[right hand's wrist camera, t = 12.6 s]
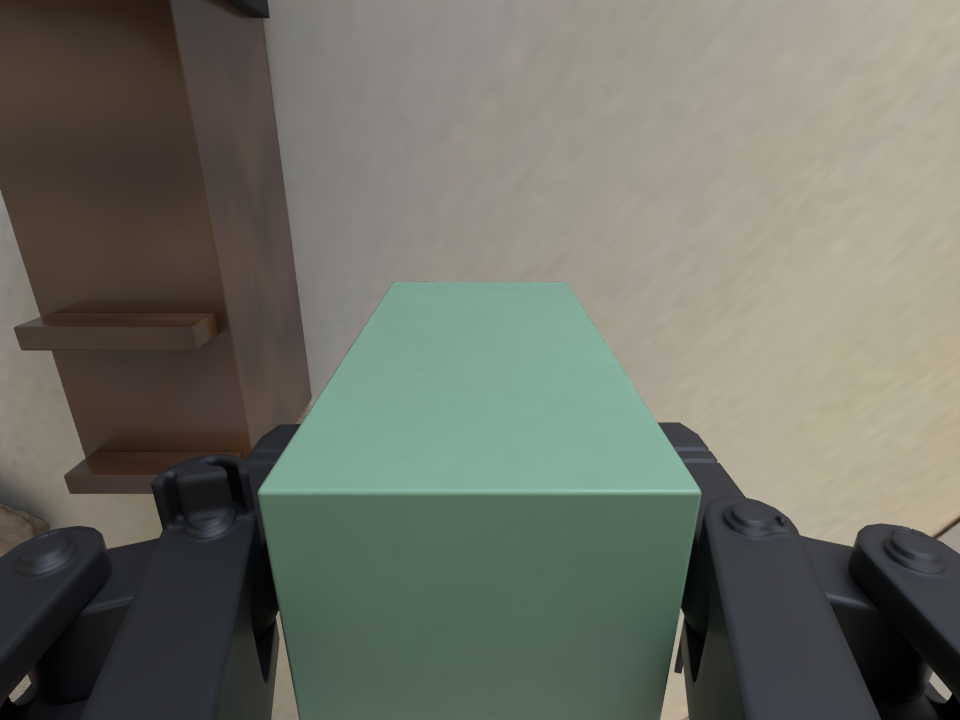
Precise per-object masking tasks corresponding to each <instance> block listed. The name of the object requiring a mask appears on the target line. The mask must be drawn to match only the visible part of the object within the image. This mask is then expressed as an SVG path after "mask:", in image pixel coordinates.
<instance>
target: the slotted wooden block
mask: <svg viewBox="0 0 960 720" xmlns="http://www.w3.org/2000/svg"><path fill="white" fill-rule="evenodd" d="M0 189H1V192H2V196H3V199H4V202H5V205H6V208H7V211H8V214H9V218H10V221H11V224H12V227H13V230H14V233H15V237H16V240H17V243H18V246H19V249H20V252H21V255H22V259H23V262H24V265H25V268H26V271H27V274H28V277H29V281H30V284H31V287H32V290H33V293H34V296H35V300H36V303H37V306H38V309H39V312H40V315H41V317H39V318H37V319H34V320H32V321H29V322H26V323H24V324H21V325H19V326H16V327H14V330H15V333H16V336H17V339H18V342H19V345H20V348H21V350H52V353H53V356H54V359H55V363H56V366H57V369H58V372H59V375H60V378H61V382H62V385H63V388H64V391H65V394H66V397H67V400H68V404H69V407H70V410H71V413H72V416H73V419H74V422H75V426H76V429H77V432H78V435H79V438H80V441H81V445H82V448H83V451H84V454H85V457H86V458H85V459H84V460H83V461H82V462H80V463H79V464H78V465H77V466H75V467H74V468H73V469H72V470H70V471H69V472H68V473H66V474H65V475H64V478H65V481H66V484H67V487H68V489H69V492H70V493H71V494H153V491H152V487H151V483H152V482H153V480H154V479H155V478H156V477H157V476H158V475H159V474H160V473H161V472H163V471H165V470H166V469H168V468H169V467H171V466H173V465H175V464H177V463H180V462H182V461H185V460H187V459H190V458H194V457H199V456H203V455H208V454H229V455H233V456H238V457H240V458H241V459H242V460H245V458H246V457H247V456H248V454H249V453H251V452H252V449H253V448H254V446H255V445H256V444H257V442H258V441H259V440H260V438H261V437H262V436H263V435H265V434H266V433H268V432H269V431H271V430H273V429H274V428H276V427H277V426H279V425H280V424H295V422H296V421H297V419H298V418H299V416H300V415H301V413H302V412H303V410H304V409H305V407H306V406H307V404H308V403H309V401H310V400H311V390H310V382H309V374H308V367H307V359H306V351H305V344H304V336H303V328H302V321H301V313H300V305H299V297H298V290H297V282H296V274H295V267H294V259H293V251H292V243H291V236H290V228H289V220H288V213H287V205H286V197H285V189H284V182H283V174H282V166H281V159H280V151H279V143H278V136H277V128H276V120H275V112H274V105H273V97H272V89H271V82H270V74H269V66H268V58H267V51H266V43H265V35H264V28H263V20H262V18H253V17H251V16H250V15H248V14H246V13H244V12H243V11H241V10H239V9H238V8H236V7H234V6H232V5H231V4H229V3H227V2H226V1H224V0H0Z"/></svg>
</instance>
